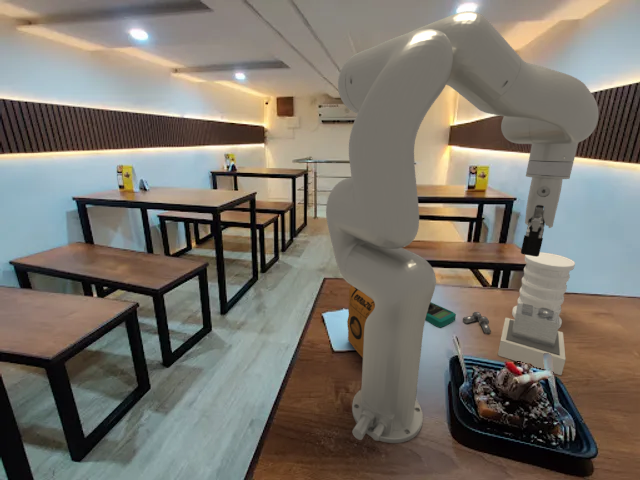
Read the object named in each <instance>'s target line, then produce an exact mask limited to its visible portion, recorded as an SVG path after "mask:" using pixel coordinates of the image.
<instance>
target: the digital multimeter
mask: <svg viewBox="0 0 640 480" xmlns="http://www.w3.org/2000/svg"><path fill="white" fill-rule="evenodd" d="M456 315H457V314H456V312H454V311H452V310H449V309H447V308H445V307H443V306H440V305H439V304H436V303H433V302H432V301H431V302H430V305H429V308H428V311H427V314H426V318H425V322H426V321H427V322H428V323H430V324H432V325H433V326H435V327H437V328H442V327H443V328H444V327H446V326H447V325H450V324H451V323H453V322H454V321H456Z"/></svg>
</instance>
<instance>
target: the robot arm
mask: <svg viewBox="0 0 640 480" xmlns="http://www.w3.org/2000/svg"><path fill="white" fill-rule="evenodd" d="M446 86H449V87H450V88H451V89H453V90H454V91H455V92H457V94H459V95H460V96H462V97H463V98H464V99H465V100H466V101H468V102H469V103H470V104H472V105H473V106H474V107H475V108H476V109H477V110H479V111H480V112H483V113H485V114H490V115H494V116H499V117H500V116H501V117H502V120H501V126H500V127H501V133H502V135H503V137H504V138H505V139H506V140H507V141H509V142H510V143H514V144H519V145H531V146H530V147H531V148H530V151H529V158H528V162H527V167H526V172H525V173H526V174H525V177H527V178H531V181H530V186H529V191H528V196H527V203H526V209H525V218H524V219H525V220H524V223H525V225H526V227H527V228H526V231H525V235H524V236H523V240H522V245H521V249H520V253H521V255H524V256H525V255H530V256H536V257H538V256H539V253H540V252H541V248H542V245H543V239H544V238H543V235H544V231H545V226H547V227H548V229H551V228H553V226H554V223H555V218H556V213H557V209H558V205H559V201H560V198H561V197H560V196H561V192H562V187H563V186H562V185H563V180H570V177H571V174H572V171H573V170H572V169H573V165H574V161H575V158H576V154H577V150H578V149H577V148H578V147H579V145H578V144H579V143H580V142H583V141H585V140H586V139H588V138H589V137H590V136H591V134H593V132H594V131H595V129H596V128H597V125H598V123H599V122H598V121H599V115H600V114H599V107H598V103H597V101H596V98H595V96H594V95H593V93H592V92H591V90H590V89H589V88H588V86H586V84H585V83H584V82H583V81H582V80H580V79H578V78H577V77H575V76H573V75H570V74H567V73H564V72H561V71H557V70H554V69H551V68H548V67H544V66H541V65H537V64H535V63H534V64H533V63H529V62H525V60H524V59H523V58H522V57H521V56H520V55H519V54H518V53H517V52H516V51H515V49H514V48H513V47H512V45H510V44H509V43H508V41H507V40H506V39H505V37H503V36H502V35H501V33H500V32H499V31H498V30H497V28H495V26H494V25H493V24H492V22H490V21H489V19H487V18H486V17H485V16H484V15H482V14H481V13H478V12H476V11H462V12H458V13H454V14H451V15H449V16H446V17H444V18H442V19H441V18H440V19H439V20H436V21H434V22H431V23H429V24H426V25H424V26H421V27H418V28H416V29H414V30H411V31H410V32H407V33H404V34H402V35H398V36H396V37H394V38H391V39H388V40H386V41H383V42H381V43H379V44H377V45H375V46H372V47H370V48H367V49H363V50H362V51H359V52H357V53H355V54H353V55H351V56H350V57H349V58H348V59H347V60H346V61H345V62H344V63H343V65H342V66H341V68H340V72H339V75H338V80H337V90H338V96H339V97H340V99H341V101H342V103H343V105H344V106H346V108H347V109H348V110H350V111H351V112H353V113H356V116H355V119H354V122H353V124H352V127H351V131H350V135H349V141H348V159H349V167H350V175H351V177H347V178H345V179H342V180H340V181H339V182H338V183H336V184H335V185H334V187H333V188H332V189H331V191H330V193H329V195H328V197H327V202H326V206H325V207H326V208H325V217H326V223H327V228H328V233H329V236H330V241H331V245H332V250H333V254H334V259H335V263H336V266H337V269H338V271H339V274H340V275H341V277H342V278H343V280H344V281H345V282H346V283H348V284H349V285H350V286H351V285H352V286H354V287H355V288H357V289H358V290H360V291H361V292H363V293H365V294H366V295H367V296H368V297H370V298H371V299H372V300H373V301H374V303H375V308H374V310H373V311H372V313H371V314H370V315H369V316H368V318H367V319H366V322H365V327H364V346H363V358H362V369H361V371H362V373H361V388H360V389H359V390H358V391H357V392H356V394H354V397H353V399H352V405H351V406H352V407H351V411H352V416H353V418H354V421H355V426H354V427H353V429H352V431H351V432H352V435H353V436H354V438H355V439H357V440H361V441H362V440H363V439H364V437H365V435H368V436H369V437H370V438H371V439H373V440H374V441H380V442H384V443H389V444H401V443H405V442H407V441H411V440H412V439H413V438H414V437H415V438H416V436H417V435H418V434H419V433H420V431H421V428H422V426H423V422H424V421H423V420H424V413H423V410H422V407H421V405H420V403H419V402H418V400H417V392H418V391H417V390H418V381H419V372H420V364H421V363H420V362H421V355H422V347H423V346H422V343H423V336H424V330H425V329H424V328H425V323H426V320H425V318H426V314H427V311H428V308H429V305H430V302H432V299H433V296H434V293H435V290H436V283H437V278H436V276H437V275H436V272H435V271H434V269H433V267H432V265H431V263H429V262H428V261H427V260H426V259H425V258H423V257H422V256H420V255H418V254H417V253H414V252H413V251H410V250H409V249H406V247H407V246H409V245H411V243H412V242H413V241H414V240H415V239H416V237H417V235H418V232H419V229H420V227H419V226H420V211H419V210H420V208H419V197H418V187H417V176H416V166H415V165H416V164H415V143H416V138H417V134H418V133H419V129H420V127H421V124H422V122H423V121H424V118H425V117H426V115H427V113H428V112H429V110H430V109H431V107H432V106H433V105H434V103H435V101H436V100H438V98H439V96H440V95H441V94H442V92H443V91H444V89H445V87H446Z"/></svg>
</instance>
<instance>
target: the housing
mask: <svg viewBox="0 0 640 480" xmlns="http://www.w3.org/2000/svg"><path fill="white" fill-rule="evenodd" d="M516 306H517V310H516V314H515V318H513V320H514V324H513V330H512V336H514V337H518V338H522V339H525V340H529V341H532V342H536V343H539V344H543V345H546V346H550V347H553V348H554V344H555V340H556V336H557V332H558V331H559V329H560V328H559V324H560V322H559V317H560V314H559V313H558V312H554V311H552V310H550V309H547V308H536V307H533V306H532V305H528V304H524V303H523V304H519V303H518V302H517V305H516ZM558 328H559V329H558Z"/></svg>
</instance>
